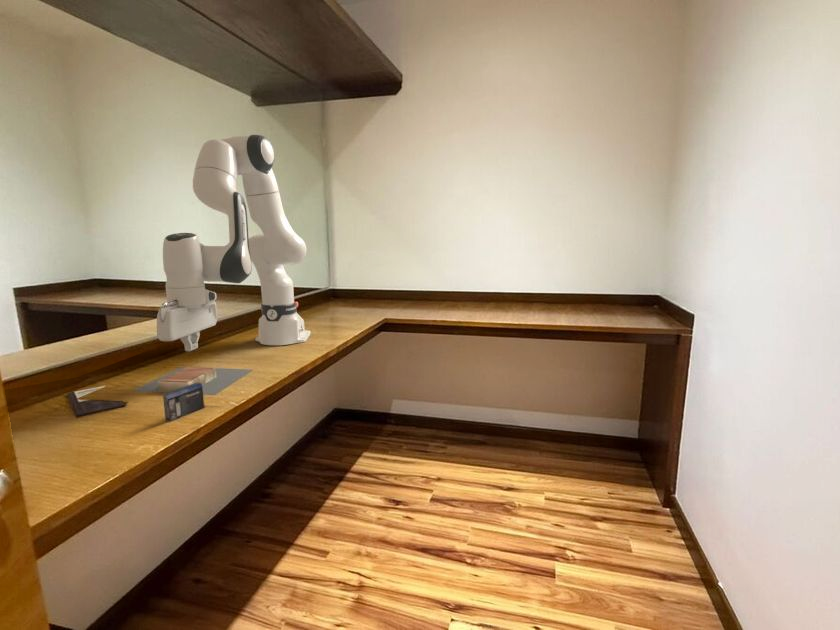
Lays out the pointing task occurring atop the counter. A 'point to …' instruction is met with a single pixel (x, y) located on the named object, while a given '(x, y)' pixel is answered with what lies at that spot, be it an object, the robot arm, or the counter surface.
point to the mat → (210, 388)
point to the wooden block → (186, 378)
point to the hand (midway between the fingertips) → (191, 349)
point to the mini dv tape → (183, 401)
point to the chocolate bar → (91, 403)
